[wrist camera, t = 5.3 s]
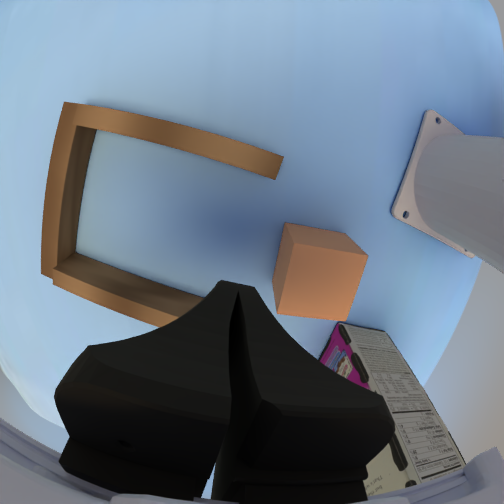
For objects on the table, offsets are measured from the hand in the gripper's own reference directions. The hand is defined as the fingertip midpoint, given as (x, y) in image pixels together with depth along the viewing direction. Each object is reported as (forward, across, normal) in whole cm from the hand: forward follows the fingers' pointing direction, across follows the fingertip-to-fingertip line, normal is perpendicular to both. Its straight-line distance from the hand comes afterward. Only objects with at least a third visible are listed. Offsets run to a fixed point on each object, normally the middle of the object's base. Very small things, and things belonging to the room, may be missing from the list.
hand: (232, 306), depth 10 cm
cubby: (+8, +6, 0) cm, 10 cm away
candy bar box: (+8, -10, +10) cm, 16 cm away
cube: (+8, -4, 0) cm, 9 cm away
